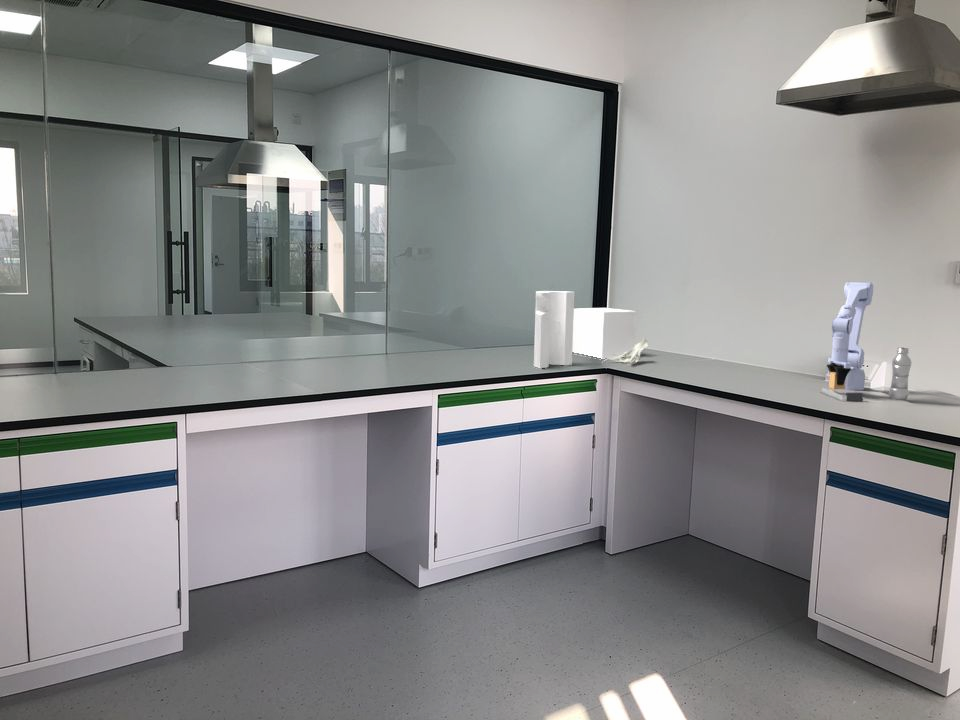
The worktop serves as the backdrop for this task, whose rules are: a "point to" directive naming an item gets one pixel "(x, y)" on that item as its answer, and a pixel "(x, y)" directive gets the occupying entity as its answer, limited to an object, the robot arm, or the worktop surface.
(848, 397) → the mounting plate
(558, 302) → the white grooved block
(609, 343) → the cube
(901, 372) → the plastic bottle
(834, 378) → the block
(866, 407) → the worktop surface
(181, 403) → the worktop surface
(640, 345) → the skeletal model
